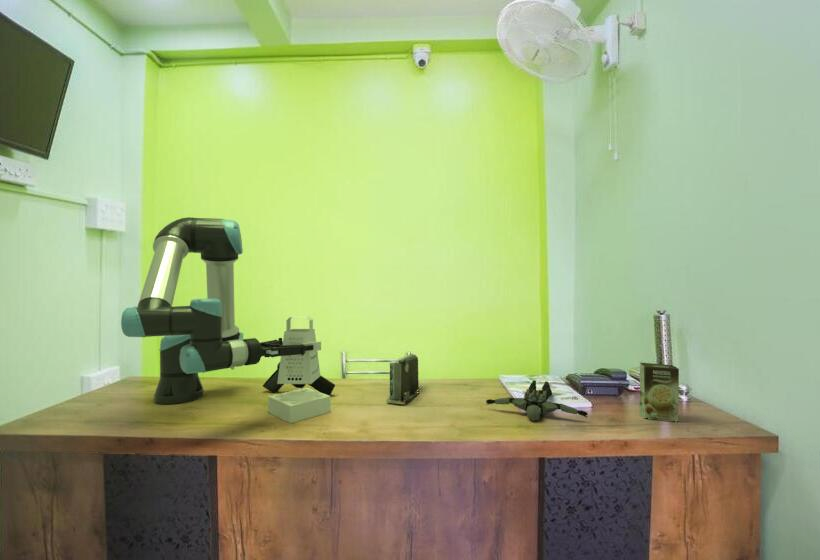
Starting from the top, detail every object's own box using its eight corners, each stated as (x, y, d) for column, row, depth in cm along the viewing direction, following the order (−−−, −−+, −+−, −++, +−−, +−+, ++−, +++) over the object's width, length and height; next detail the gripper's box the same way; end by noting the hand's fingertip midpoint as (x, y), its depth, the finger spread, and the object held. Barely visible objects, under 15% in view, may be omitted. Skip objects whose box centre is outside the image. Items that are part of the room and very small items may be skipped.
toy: (498, 390, 147) (481, 422, 120) (498, 369, 147) (481, 395, 119) (585, 400, 136) (588, 438, 108) (585, 377, 135) (588, 408, 108)
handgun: (314, 421, 140) (333, 386, 138) (262, 386, 144) (279, 351, 142) (317, 418, 142) (336, 384, 141) (265, 384, 146) (283, 350, 145)
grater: (311, 384, 117) (311, 318, 117) (277, 383, 118) (277, 318, 118) (320, 375, 128) (320, 315, 128) (289, 375, 128) (289, 315, 128)
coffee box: (643, 419, 117) (643, 366, 117) (638, 412, 123) (638, 362, 123) (679, 422, 114) (679, 368, 114) (672, 415, 120) (672, 364, 120)
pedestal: (268, 412, 122) (268, 395, 122) (306, 402, 133) (306, 386, 133) (290, 423, 113) (290, 405, 113) (330, 411, 123) (330, 395, 123)
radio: (408, 386, 153) (408, 349, 153) (428, 389, 149) (428, 350, 149) (380, 403, 131) (381, 360, 131) (403, 407, 128) (404, 362, 128)
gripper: (226, 360, 118) (292, 351, 134) (261, 372, 102) (331, 360, 118) (227, 335, 118) (292, 329, 134) (261, 343, 102) (331, 335, 118)
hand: (310, 343), depth 126 cm, fingers closed on grater, 11 cm apart
